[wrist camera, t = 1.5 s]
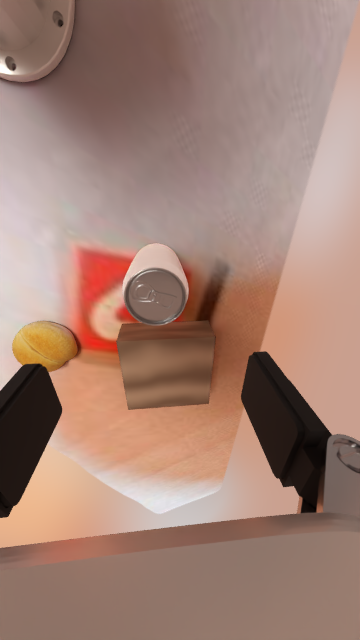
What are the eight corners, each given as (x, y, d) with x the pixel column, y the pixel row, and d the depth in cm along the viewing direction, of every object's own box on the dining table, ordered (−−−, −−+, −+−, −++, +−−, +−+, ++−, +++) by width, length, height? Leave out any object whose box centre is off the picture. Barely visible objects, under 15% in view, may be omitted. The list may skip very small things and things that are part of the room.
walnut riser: (122, 324, 33) (116, 341, 28) (208, 320, 34) (215, 337, 29) (131, 387, 39) (128, 409, 35) (203, 382, 40) (208, 403, 36)
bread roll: (89, 342, 34) (80, 358, 31) (52, 369, 36) (41, 387, 32) (46, 307, 30) (31, 320, 27) (8, 339, 32) (-10, 355, 29)
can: (142, 234, 27) (131, 249, 16) (187, 254, 28) (203, 279, 18) (127, 279, 29) (110, 317, 19) (169, 294, 31) (174, 337, 21)
